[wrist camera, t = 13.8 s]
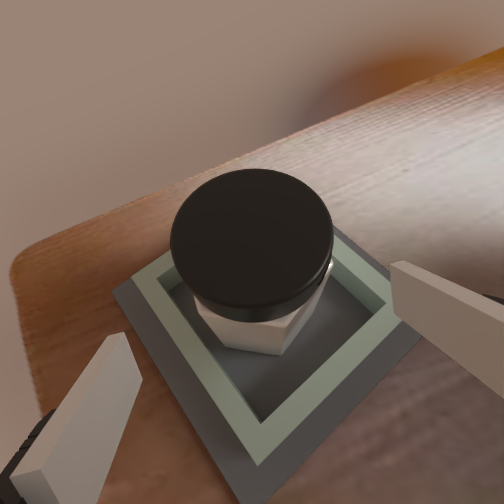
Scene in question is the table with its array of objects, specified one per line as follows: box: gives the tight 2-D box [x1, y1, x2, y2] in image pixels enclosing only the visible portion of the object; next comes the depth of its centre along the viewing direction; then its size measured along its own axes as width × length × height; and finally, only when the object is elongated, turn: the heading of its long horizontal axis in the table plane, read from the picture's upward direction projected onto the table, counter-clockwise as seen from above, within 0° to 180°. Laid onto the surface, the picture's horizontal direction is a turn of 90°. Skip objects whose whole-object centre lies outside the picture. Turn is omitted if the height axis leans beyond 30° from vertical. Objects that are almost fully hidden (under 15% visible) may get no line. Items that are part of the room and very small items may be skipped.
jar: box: [170, 169, 334, 356], centre depth 19 cm, size 9×8×12 cm
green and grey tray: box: [111, 225, 422, 504], centre depth 24 cm, size 20×20×4 cm
